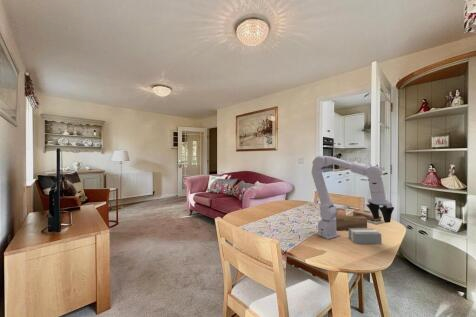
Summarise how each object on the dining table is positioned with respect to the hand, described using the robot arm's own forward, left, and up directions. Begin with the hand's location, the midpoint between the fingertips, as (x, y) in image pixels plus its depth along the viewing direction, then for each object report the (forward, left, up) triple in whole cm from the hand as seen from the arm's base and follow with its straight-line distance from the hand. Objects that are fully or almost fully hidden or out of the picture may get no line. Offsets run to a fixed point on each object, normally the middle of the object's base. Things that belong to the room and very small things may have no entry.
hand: (381, 220), depth 99 cm
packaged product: (+34, +29, -13) cm, 47 cm away
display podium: (+9, +24, -13) cm, 28 cm away
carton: (0, +9, -13) cm, 16 cm away
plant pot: (+19, +38, -13) cm, 44 cm away
